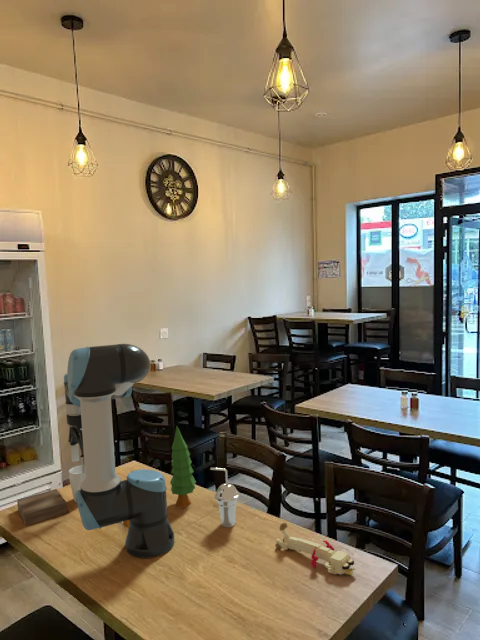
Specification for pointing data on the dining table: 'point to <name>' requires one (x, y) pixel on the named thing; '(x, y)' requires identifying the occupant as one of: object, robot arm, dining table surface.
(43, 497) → the riser
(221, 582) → the dining table surface
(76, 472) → the cup
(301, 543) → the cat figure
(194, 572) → the dining table surface
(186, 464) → the decorative tree
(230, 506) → the cup with straw
